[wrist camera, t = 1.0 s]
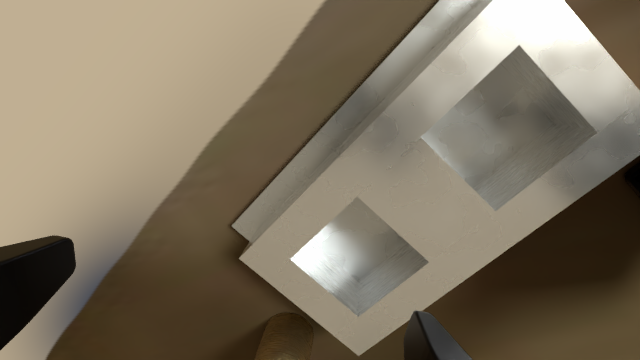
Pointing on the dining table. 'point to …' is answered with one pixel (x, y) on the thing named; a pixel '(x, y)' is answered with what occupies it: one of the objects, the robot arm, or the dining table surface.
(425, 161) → the aluminium jig
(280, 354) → the solid brass peg
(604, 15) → the dining table surface
